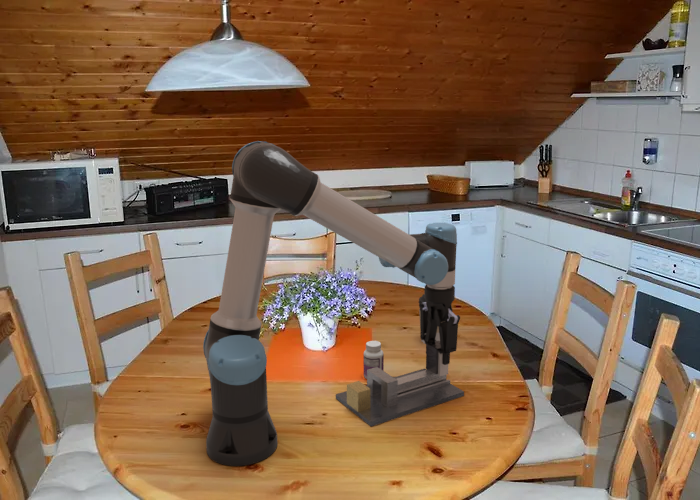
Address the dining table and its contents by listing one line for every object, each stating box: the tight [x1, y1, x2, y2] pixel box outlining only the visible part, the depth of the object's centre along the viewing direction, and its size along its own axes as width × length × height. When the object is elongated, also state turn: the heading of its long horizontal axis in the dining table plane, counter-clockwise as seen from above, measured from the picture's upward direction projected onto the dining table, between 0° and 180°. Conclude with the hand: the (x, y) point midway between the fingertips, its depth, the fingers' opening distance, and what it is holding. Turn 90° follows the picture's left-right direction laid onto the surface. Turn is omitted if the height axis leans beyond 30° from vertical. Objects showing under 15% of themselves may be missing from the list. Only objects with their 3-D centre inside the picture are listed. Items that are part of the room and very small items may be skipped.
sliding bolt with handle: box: [397, 341, 447, 395], centre depth 155 cm, size 16×4×10 cm, turn 121°
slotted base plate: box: [335, 367, 465, 428], centre depth 153 cm, size 28×16×8 cm, turn 121°
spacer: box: [346, 380, 370, 412], centre depth 147 cm, size 5×5×4 cm
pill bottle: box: [363, 340, 385, 380], centre depth 164 cm, size 5×5×10 cm
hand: (437, 371), depth 159 cm, fingers closed on sliding bolt with handle, 4 cm apart
